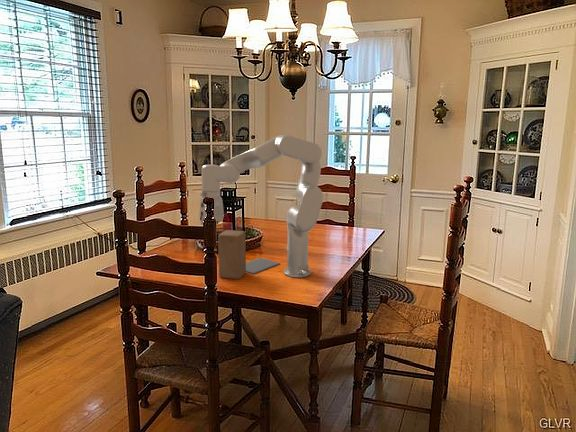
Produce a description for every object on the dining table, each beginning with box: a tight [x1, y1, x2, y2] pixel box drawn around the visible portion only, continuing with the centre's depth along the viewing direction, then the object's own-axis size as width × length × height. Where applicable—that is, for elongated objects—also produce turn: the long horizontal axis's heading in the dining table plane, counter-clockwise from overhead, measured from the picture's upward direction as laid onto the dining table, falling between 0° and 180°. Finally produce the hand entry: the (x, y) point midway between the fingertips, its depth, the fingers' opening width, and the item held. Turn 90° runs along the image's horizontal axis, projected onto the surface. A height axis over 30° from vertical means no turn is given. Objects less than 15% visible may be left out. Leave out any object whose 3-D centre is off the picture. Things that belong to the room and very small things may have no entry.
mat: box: [245, 257, 281, 275], centre depth 220 cm, size 19×13×1 cm
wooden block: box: [217, 229, 247, 280], centre depth 205 cm, size 10×10×20 cm
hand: (211, 236), depth 194 cm, fingers closed
